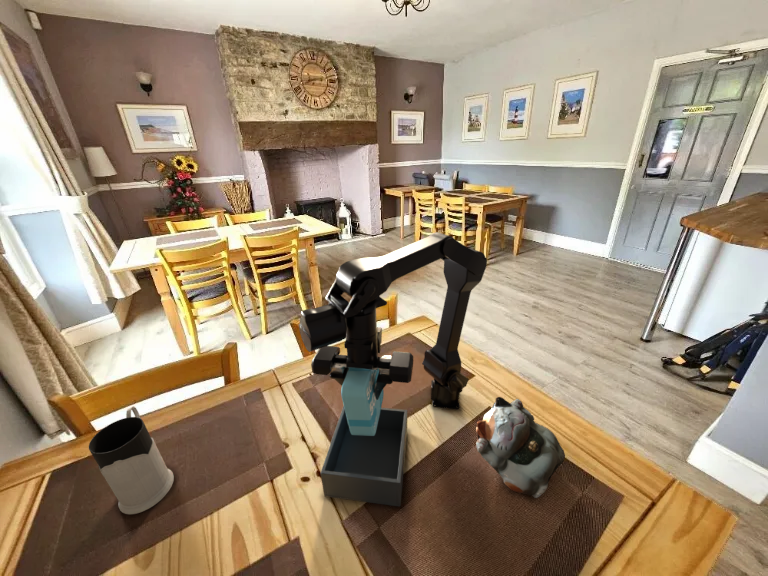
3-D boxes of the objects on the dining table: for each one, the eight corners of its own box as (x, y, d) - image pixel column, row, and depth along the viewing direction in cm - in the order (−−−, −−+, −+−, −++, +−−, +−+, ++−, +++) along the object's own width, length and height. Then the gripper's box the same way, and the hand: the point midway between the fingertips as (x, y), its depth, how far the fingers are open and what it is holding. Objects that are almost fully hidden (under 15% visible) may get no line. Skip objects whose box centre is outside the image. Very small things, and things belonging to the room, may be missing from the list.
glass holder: (113, 523, 54) (75, 466, 48) (129, 458, 66) (101, 405, 59) (171, 499, 58) (143, 443, 51) (177, 441, 69) (155, 389, 63)
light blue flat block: (374, 440, 58) (364, 390, 54) (351, 439, 59) (339, 390, 54) (384, 393, 69) (376, 349, 64) (364, 393, 70) (355, 349, 65)
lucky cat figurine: (528, 514, 54) (495, 452, 51) (481, 476, 65) (453, 424, 62) (578, 455, 59) (551, 396, 56) (527, 430, 70) (502, 379, 68)
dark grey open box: (407, 431, 70) (407, 409, 67) (400, 506, 56) (400, 483, 53) (346, 425, 72) (343, 404, 69) (324, 496, 57) (320, 473, 55)
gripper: (416, 312, 62) (414, 374, 68) (326, 306, 64) (333, 366, 71) (411, 344, 52) (410, 413, 58) (305, 336, 55) (315, 403, 61)
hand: (365, 396), depth 62 cm, fingers closed on light blue flat block, 5 cm apart
